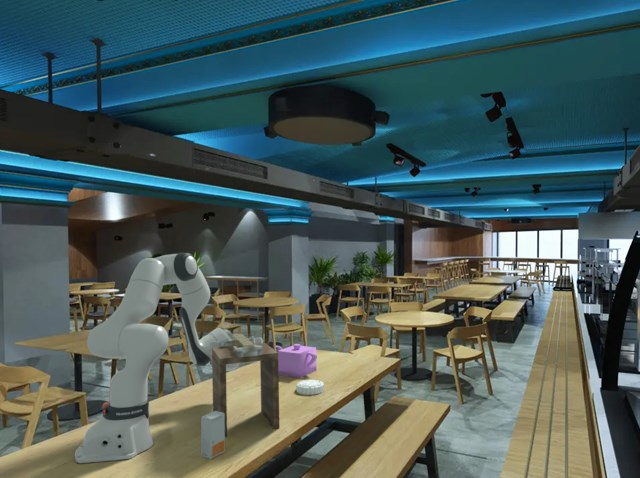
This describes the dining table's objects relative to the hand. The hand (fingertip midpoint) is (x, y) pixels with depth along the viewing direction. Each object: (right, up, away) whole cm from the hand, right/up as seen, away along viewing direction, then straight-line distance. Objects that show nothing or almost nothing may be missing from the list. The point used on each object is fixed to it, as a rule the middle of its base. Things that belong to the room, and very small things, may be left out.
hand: (239, 339), depth 172 cm
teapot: (+18, -29, +58) cm, 67 cm away
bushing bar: (+2, -2, -6) cm, 6 cm away
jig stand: (+3, -28, -8) cm, 30 cm away
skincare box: (-2, -28, -31) cm, 42 cm away
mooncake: (+26, -29, +29) cm, 48 cm away
